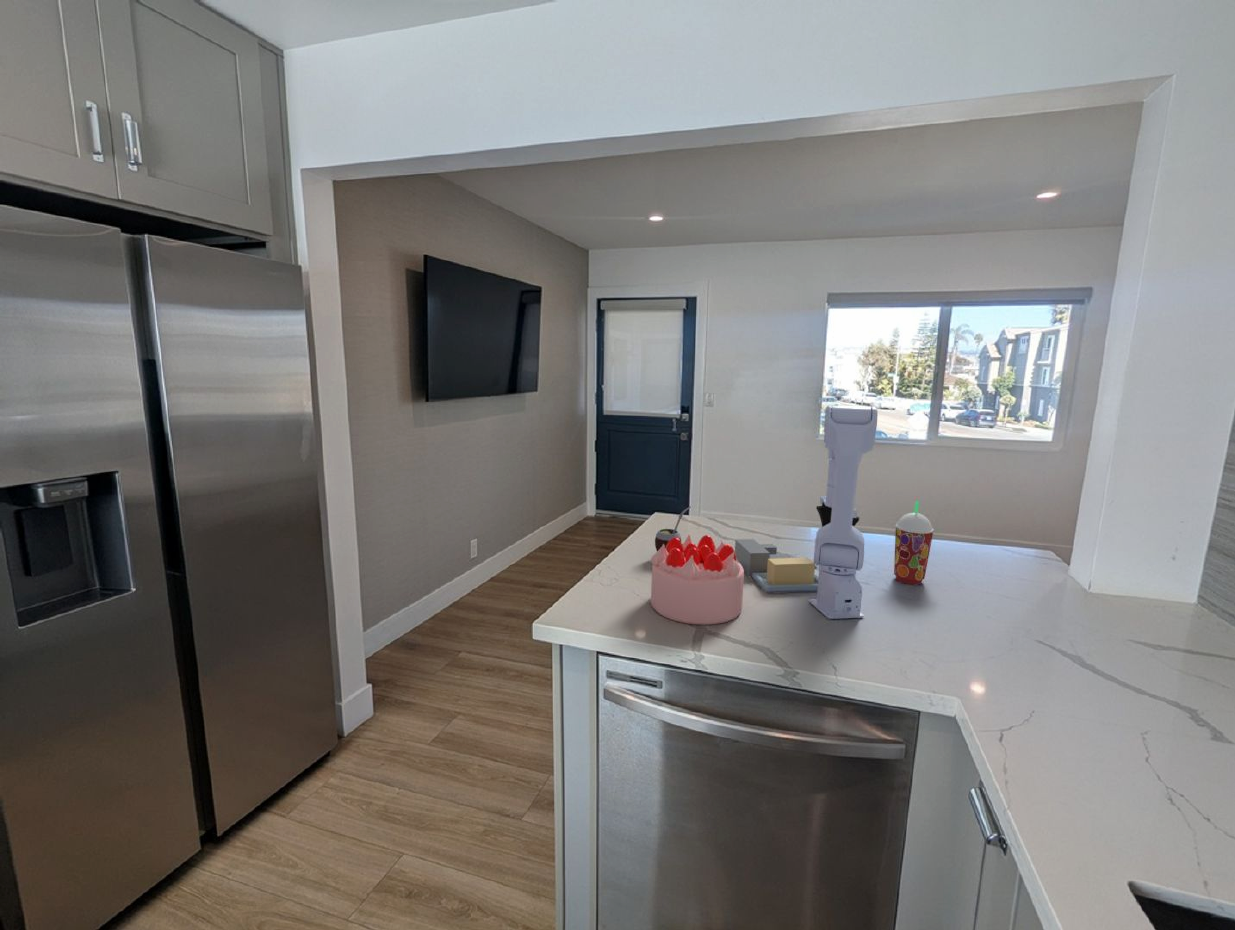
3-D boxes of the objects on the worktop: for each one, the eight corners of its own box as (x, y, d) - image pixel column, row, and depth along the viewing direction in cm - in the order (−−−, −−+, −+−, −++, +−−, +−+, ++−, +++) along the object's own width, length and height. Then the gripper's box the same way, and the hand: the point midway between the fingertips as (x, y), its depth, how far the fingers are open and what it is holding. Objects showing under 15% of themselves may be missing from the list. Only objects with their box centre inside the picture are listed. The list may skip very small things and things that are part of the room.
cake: (748, 628, 117) (752, 560, 114) (648, 624, 118) (650, 556, 116) (735, 590, 136) (738, 532, 134) (649, 587, 137) (651, 529, 135)
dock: (788, 575, 147) (790, 552, 146) (749, 576, 145) (750, 553, 144) (771, 559, 158) (772, 538, 157) (734, 561, 156) (735, 539, 155)
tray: (827, 591, 137) (828, 585, 136) (766, 593, 135) (767, 587, 134) (810, 576, 146) (810, 571, 145) (752, 578, 144) (752, 573, 143)
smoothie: (919, 575, 148) (927, 498, 144) (933, 587, 140) (943, 506, 136) (885, 573, 149) (892, 497, 145) (897, 586, 141) (905, 505, 137)
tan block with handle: (816, 585, 139) (818, 563, 138) (773, 586, 137) (774, 564, 136) (808, 578, 143) (810, 557, 142) (766, 580, 141) (767, 558, 140)
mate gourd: (648, 559, 156) (650, 505, 154) (669, 553, 162) (670, 500, 159) (669, 567, 151) (671, 510, 148) (689, 560, 156) (691, 506, 154)
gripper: (870, 491, 137) (865, 546, 140) (839, 479, 151) (835, 529, 154) (842, 491, 136) (837, 547, 139) (814, 479, 151) (810, 530, 153)
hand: (834, 538), depth 146 cm, fingers open, 7 cm apart
